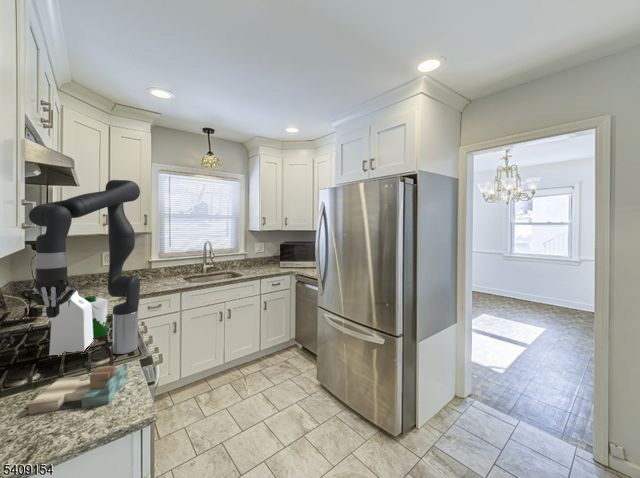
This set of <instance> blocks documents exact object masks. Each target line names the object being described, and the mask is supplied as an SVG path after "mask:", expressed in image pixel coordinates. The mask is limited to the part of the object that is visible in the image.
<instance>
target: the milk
mask: <svg viewBox="0 0 640 478" xmlns="http://www.w3.org/2000/svg"><path fill="white" fill-rule="evenodd" d="M50 321H51V322H50V337H49V339H50V340H49V351H48V352H49V354H48V357H49V356H50V355H58V357H60V356H59V355H62V353H63V352H64V351H66V352H76V351H83V352H84V350H85V349H86V348H87V347H88V346H89V345H90V344H91V343H92V342H93V341H94V339H93V321H92V305H91V303H90V302H88V301H87V300H85V297H83V296H80V295H79V292H78V290H77V291H76V292H75V293H74V294H73V295H72V296H71V297H70V298H69V299H68V300H67V301H66V302H65V303H63V304H61V305H59V314H58V315H57V316H56V317H54V318H51V320H50ZM93 343H94V342H93ZM93 343H92V344H93Z"/></svg>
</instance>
